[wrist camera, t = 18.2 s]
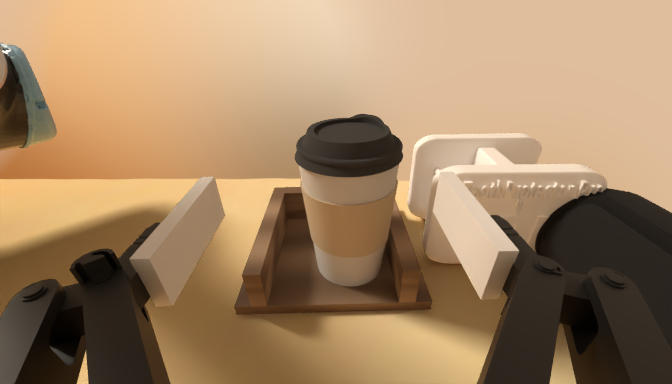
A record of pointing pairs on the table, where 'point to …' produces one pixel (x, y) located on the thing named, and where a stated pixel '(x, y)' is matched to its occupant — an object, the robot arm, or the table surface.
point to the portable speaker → (616, 244)
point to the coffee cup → (349, 194)
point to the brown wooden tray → (303, 273)
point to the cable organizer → (494, 183)
